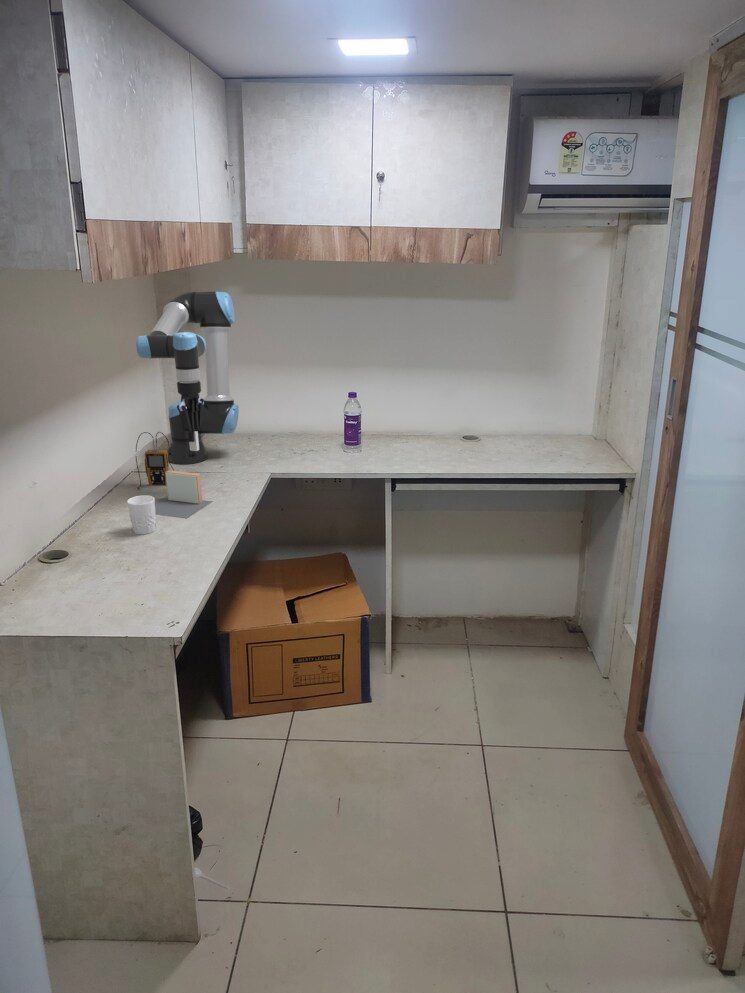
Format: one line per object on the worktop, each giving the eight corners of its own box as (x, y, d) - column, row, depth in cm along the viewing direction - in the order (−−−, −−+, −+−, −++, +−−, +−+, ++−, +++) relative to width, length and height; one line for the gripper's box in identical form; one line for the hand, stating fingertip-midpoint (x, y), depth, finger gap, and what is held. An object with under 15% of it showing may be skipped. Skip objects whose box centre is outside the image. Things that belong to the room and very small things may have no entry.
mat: (166, 497, 246) (166, 495, 245) (212, 503, 240) (212, 501, 240) (138, 513, 231) (138, 512, 231) (187, 520, 226) (186, 518, 226)
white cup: (127, 529, 219) (123, 499, 216) (151, 523, 224) (147, 493, 220) (137, 537, 213) (133, 506, 210) (162, 531, 218) (158, 500, 215)
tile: (171, 498, 243) (168, 470, 240) (202, 502, 240) (200, 473, 236) (167, 500, 241) (164, 472, 238) (198, 504, 238) (196, 475, 234)
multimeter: (131, 494, 249) (124, 438, 242) (141, 484, 258) (134, 430, 251) (173, 494, 248) (167, 438, 241) (181, 484, 258) (176, 431, 251)
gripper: (189, 376, 241) (195, 444, 249) (167, 383, 230) (174, 454, 238) (208, 378, 239) (214, 446, 247) (187, 385, 227) (194, 456, 235)
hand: (194, 450), depth 242 cm, fingers closed
